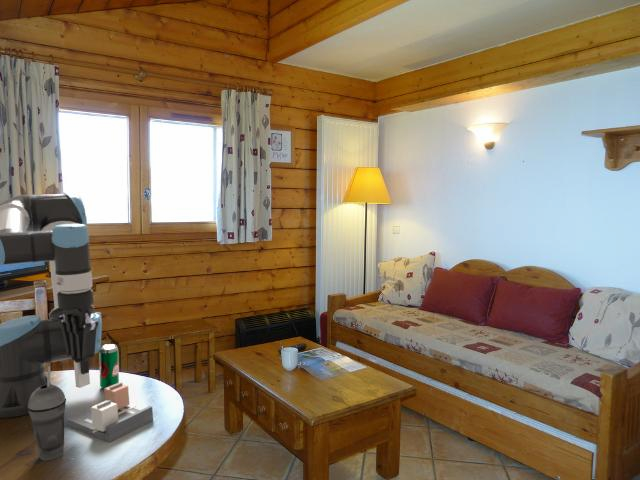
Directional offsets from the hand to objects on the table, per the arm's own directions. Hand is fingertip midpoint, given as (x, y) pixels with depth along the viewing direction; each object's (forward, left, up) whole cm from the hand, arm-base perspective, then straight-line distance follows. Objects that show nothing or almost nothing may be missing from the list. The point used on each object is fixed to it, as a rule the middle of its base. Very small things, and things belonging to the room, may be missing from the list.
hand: (83, 385), depth 117 cm
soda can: (-16, +17, -10) cm, 26 cm away
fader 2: (+8, 0, -8) cm, 12 cm away
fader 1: (+2, +8, -8) cm, 11 cm away
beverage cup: (+6, -12, -10) cm, 17 cm away
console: (+4, +4, -10) cm, 11 cm away
